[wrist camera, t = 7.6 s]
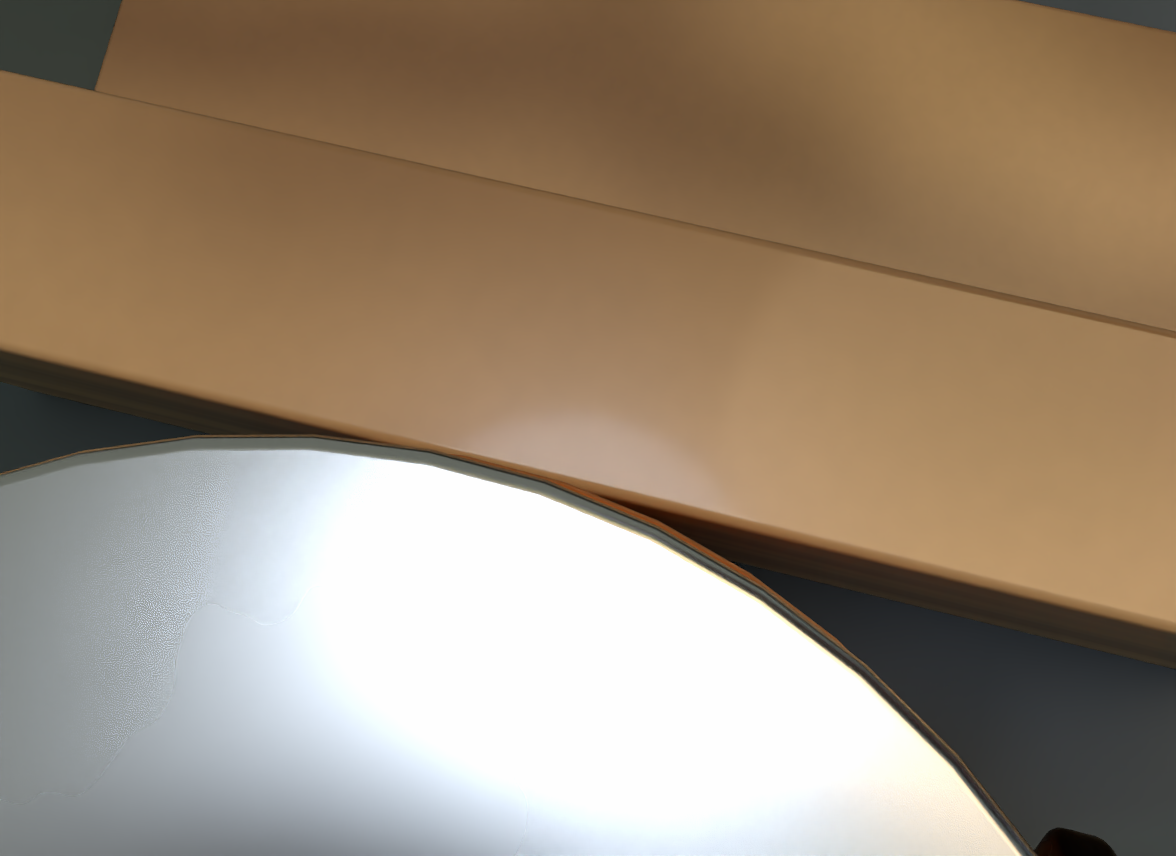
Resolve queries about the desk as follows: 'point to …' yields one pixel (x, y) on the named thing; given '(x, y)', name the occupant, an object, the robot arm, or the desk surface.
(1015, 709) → the desk surface
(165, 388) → the wooden bookend
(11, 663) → the tin can
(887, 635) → the desk surface
